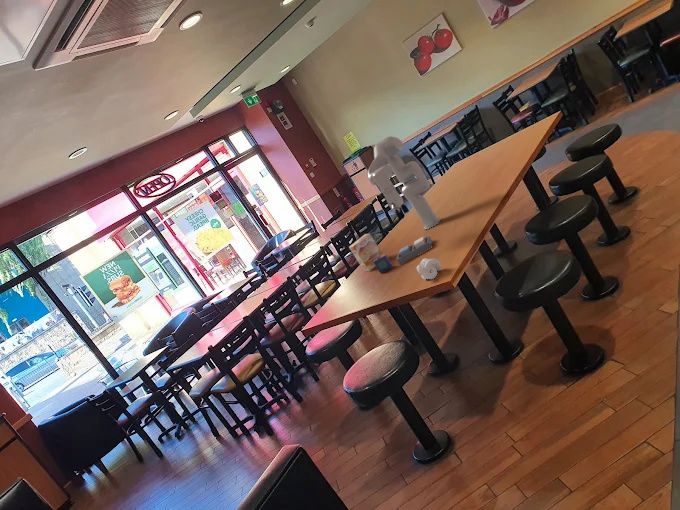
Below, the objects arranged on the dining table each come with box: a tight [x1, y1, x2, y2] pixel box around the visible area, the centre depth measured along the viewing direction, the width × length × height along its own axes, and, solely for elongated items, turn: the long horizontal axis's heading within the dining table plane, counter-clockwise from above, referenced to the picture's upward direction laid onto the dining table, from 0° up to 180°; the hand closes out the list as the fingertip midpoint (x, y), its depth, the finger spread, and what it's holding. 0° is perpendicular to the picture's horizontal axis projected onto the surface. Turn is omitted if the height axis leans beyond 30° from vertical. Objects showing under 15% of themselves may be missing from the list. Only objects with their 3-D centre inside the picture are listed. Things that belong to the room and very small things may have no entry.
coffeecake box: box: [348, 233, 384, 272], centre depth 330 cm, size 15×7×20 cm, turn 117°
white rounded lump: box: [416, 257, 442, 281], centre depth 250 cm, size 11×12×9 cm
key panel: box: [396, 235, 433, 266], centre depth 300 cm, size 12×21×4 cm, turn 76°
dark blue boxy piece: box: [373, 254, 394, 275], centre depth 305 cm, size 9×3×11 cm, turn 74°
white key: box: [413, 236, 426, 248], centre depth 298 cm, size 6×6×3 cm
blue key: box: [398, 244, 411, 257], centre depth 302 cm, size 6×6×3 cm
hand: (404, 215), depth 292 cm, fingers open, 9 cm apart
